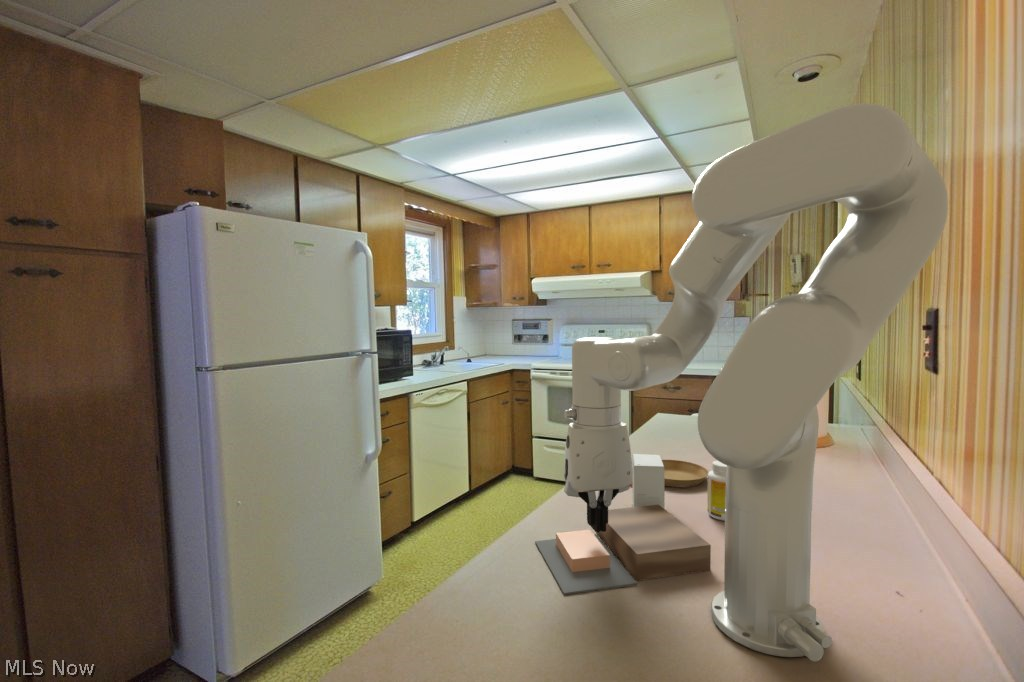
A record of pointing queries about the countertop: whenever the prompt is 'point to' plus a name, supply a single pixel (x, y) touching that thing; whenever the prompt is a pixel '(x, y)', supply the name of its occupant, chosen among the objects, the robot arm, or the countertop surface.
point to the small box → (648, 480)
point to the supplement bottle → (717, 490)
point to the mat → (583, 579)
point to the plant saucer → (683, 473)
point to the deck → (654, 543)
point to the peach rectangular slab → (582, 550)
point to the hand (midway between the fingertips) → (597, 528)
